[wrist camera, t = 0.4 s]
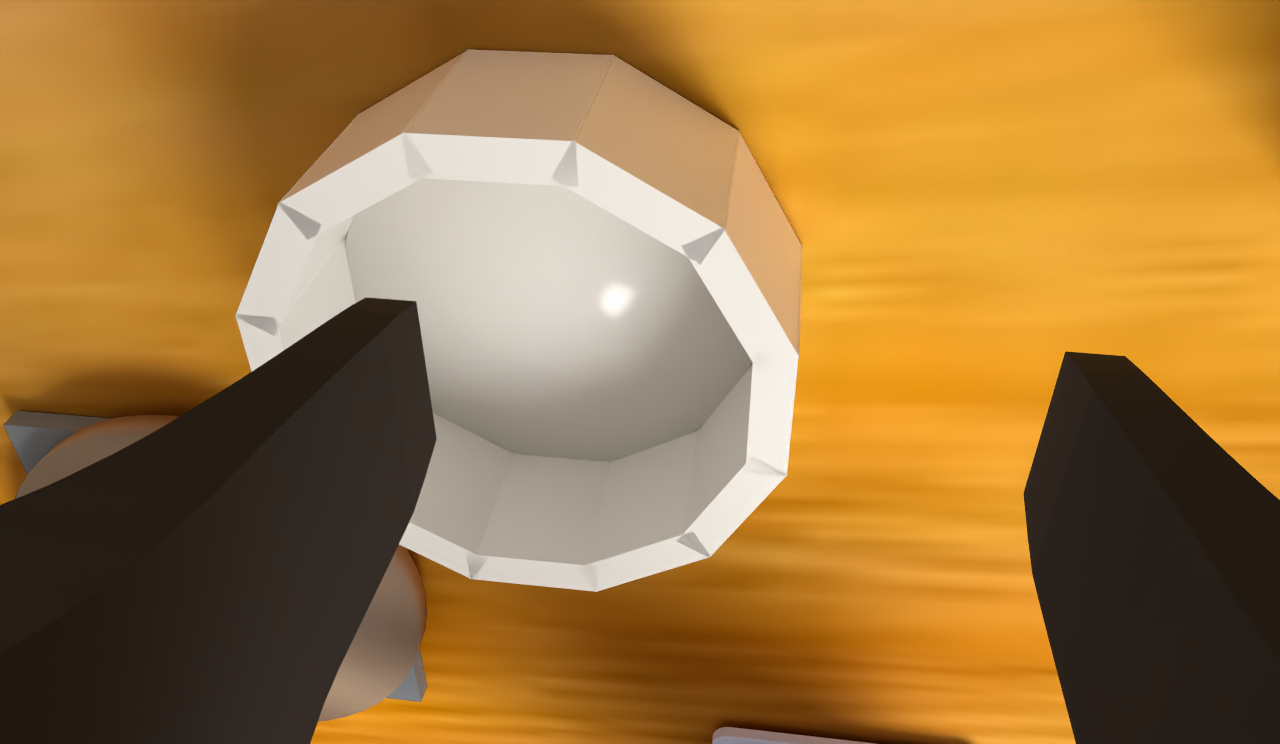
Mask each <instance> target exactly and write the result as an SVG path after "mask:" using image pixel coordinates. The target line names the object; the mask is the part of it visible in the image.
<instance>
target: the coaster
mask: <svg viewBox="0 0 1280 744" xmlns="http://www.w3.org/2000/svg"><path fill="white" fill-rule="evenodd" d="M109 419H110V418H98V417H87V416H75V415H63V414H51V413H40V412H28V411H16V412H15V413H14V414H13V415H12V416H11V417H10V418H9V419H8V421H7V422H6V423H5V424H4V427H5V429H6V431H7V433H8V435H9V438H10V440H11V442H12V444H13V446H14V448H15V450H16V452H17V454H18V456H19V458H20V461H21V463H22V465H23V467H24V469H25V471H26V473H27V475H28V474H29V472H30V471H31V470H32V469H33V468H34V467H35V466H36V465H37V464H38V462H39V461H40V460H41V459H42V458H43V457H44V456H45V455H46V454H47V453H48V452H49V451H50V450H51V449H52V448H53V447H54V446H55V445H56V444H57V443H58V442H59V441H61V440H62V439H64V438H66V437H67V436H69V435H70V434H72V433H74V432H75V431H77V430H78V429H81V428H84V427H86V426H89V425H91V424H94V423H96V422H100V421H104V420H109ZM426 687H427V683H426V678H425V674H424V669H423V664H422V659H421V654H420V649H418V652H417V654H416V657H415V660H414V662H413V665H412V667H411V669H410V671H409V672H408V674H407V676H406V678H405V679H404V681H403V682H402V683H401V684H400V685H399V686H398V687H397V688H396V690H395V691H394V692H393V693H391V694H390V695H389V696H387V697H386V698H391V699H400V700H408V701H417V702H421V701H422V698H423V696H424V693H425V690H426Z"/></svg>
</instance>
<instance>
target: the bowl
mask: <svg viewBox="0 0 1280 744" xmlns="http://www.w3.org/2000/svg"><path fill="white" fill-rule="evenodd" d="M801 279H802V244H801V243H800V241H799V240H798V238H797V236H796V234H795V232H794V231H793V229H792V227H791V225H790V223H789V221H788V220H787V218H786V216H785V214H784V212H783V210H782V209H781V207H780V205H779V203H778V201H777V200H776V198H775V196H774V194H773V192H772V190H771V189H770V187H769V185H768V183H767V181H766V179H765V178H764V176H763V174H762V172H761V170H760V169H759V167H758V165H757V163H756V161H755V159H754V158H753V156H752V154H751V152H750V150H749V148H748V147H747V145H746V143H745V141H744V139H743V137H742V136H741V134H740V132H739V130H736V129H735V128H733V127H731V126H730V125H728V124H726V123H725V122H723V121H721V120H720V119H718V118H716V117H715V116H713V115H711V114H710V113H708V112H707V111H705V110H703V109H702V108H700V107H698V106H697V105H695V104H693V103H692V102H690V101H688V100H687V99H685V98H683V97H682V96H680V95H678V94H677V93H675V92H674V91H672V90H670V89H669V88H667V87H665V86H664V85H662V84H660V83H659V82H657V81H655V80H654V79H652V78H650V77H649V76H647V75H646V74H644V73H642V72H641V71H639V70H637V69H636V68H634V67H632V66H631V65H629V64H627V63H626V62H624V61H622V60H621V59H619V58H618V57H616V56H615V55H613V54H612V55H599V54H573V53H548V52H522V51H497V50H471V49H467V51H465V52H464V53H462V54H460V55H459V56H457V57H455V58H453V59H452V60H450V61H448V62H447V63H445V64H443V65H441V66H440V67H438V68H436V69H435V70H433V71H431V72H430V73H428V74H426V75H424V76H423V77H421V78H419V79H418V80H416V81H414V82H412V83H411V84H409V85H407V86H406V87H404V88H402V89H400V90H399V91H397V92H395V93H394V94H392V95H390V96H389V97H387V98H385V99H383V100H382V101H380V102H378V103H377V104H375V105H373V106H371V107H370V108H368V109H366V110H365V111H363V112H360V113H359V114H358V115H357V116H356V117H355V119H354V120H353V121H352V122H351V123H350V124H349V125H348V126H347V127H346V128H345V130H344V131H343V132H342V133H341V134H340V135H339V136H338V137H337V138H336V140H335V141H334V142H333V143H332V144H331V145H330V146H329V147H328V148H327V149H326V151H325V152H324V153H323V154H322V155H321V156H320V157H319V158H318V159H317V161H316V162H315V163H314V164H313V165H312V166H311V167H310V168H309V169H308V170H307V172H306V173H305V174H304V175H303V176H302V177H301V178H300V179H299V180H298V182H297V183H296V184H295V185H294V186H293V187H292V188H291V189H290V190H289V191H288V193H287V194H286V195H285V196H284V197H283V198H282V199H281V200H280V201H279V203H278V206H277V209H276V212H275V214H274V217H273V219H272V222H271V225H270V227H269V230H268V232H267V235H266V238H265V240H264V243H263V245H262V248H261V251H260V253H259V256H258V258H257V261H256V264H255V266H254V269H253V271H252V274H251V277H250V279H249V282H248V285H247V287H246V290H245V292H244V295H243V298H242V300H241V303H240V305H239V308H238V311H237V313H236V314H235V315H236V316H235V317H236V319H237V322H238V326H239V329H240V333H241V336H242V340H243V343H244V347H245V350H246V354H247V357H248V361H249V364H250V368H251V371H254V370H255V369H257V368H258V367H260V366H261V365H263V364H264V363H266V362H267V361H269V360H270V359H272V358H273V357H275V356H276V355H278V354H279V353H281V352H282V351H284V350H285V349H287V348H288V347H290V346H291V345H293V344H294V343H296V342H297V341H299V340H300V339H302V338H303V337H304V336H306V335H307V334H309V333H310V332H312V331H313V330H315V329H316V328H318V327H319V326H321V325H322V324H324V323H325V322H327V321H328V320H330V319H331V318H333V317H334V316H336V315H337V314H339V313H340V312H342V311H343V310H345V309H347V308H348V307H350V306H351V305H353V304H355V303H357V302H358V301H360V300H362V299H364V298H365V297H368V298H381V299H394V300H407V301H416V302H417V309H418V316H419V323H420V329H421V336H422V343H423V350H424V356H425V363H426V370H427V377H428V384H429V390H430V397H431V404H432V411H433V417H434V424H435V431H436V438H437V440H436V443H435V447H434V450H433V453H432V457H431V460H430V463H429V467H428V470H427V473H426V477H425V480H424V483H423V486H422V489H421V492H420V495H419V498H418V501H417V504H416V507H415V510H414V513H413V515H412V517H411V519H410V521H409V524H408V526H407V528H406V530H405V532H404V534H403V537H402V539H401V541H400V543H399V545H401V546H403V547H405V548H407V549H410V550H412V551H414V552H416V553H418V554H420V555H422V556H424V557H426V558H428V559H430V560H432V561H435V562H437V563H439V564H441V565H443V566H445V567H447V568H449V569H451V570H453V571H455V572H458V573H460V574H462V575H464V576H466V577H468V578H470V579H472V580H473V579H475V580H485V581H495V582H505V583H515V584H525V585H535V586H545V587H555V588H565V589H575V590H585V591H595V592H598V591H601V590H604V589H607V588H610V587H614V586H617V585H620V584H623V583H627V582H630V581H633V580H637V579H640V578H643V577H646V576H650V575H653V574H656V573H660V572H663V571H666V570H669V569H673V568H676V567H679V566H683V565H686V564H689V563H692V562H696V561H699V560H702V559H705V558H710V557H711V555H712V554H713V553H714V552H715V551H716V550H717V549H718V548H719V547H720V546H721V545H722V544H723V543H724V542H725V541H726V539H727V538H728V537H729V536H730V535H731V534H732V533H733V532H734V531H735V530H736V529H737V528H738V527H739V526H740V525H741V523H742V522H743V521H744V520H745V519H746V518H747V517H748V516H749V515H750V514H751V513H752V512H753V511H754V510H755V509H756V508H757V506H758V505H759V504H760V503H761V502H762V501H763V500H764V499H765V498H766V497H767V496H768V495H769V494H770V493H771V492H772V490H773V489H774V488H775V487H776V486H777V485H778V484H779V483H780V482H781V481H782V480H783V479H784V478H785V477H786V476H787V474H788V457H789V447H790V437H791V427H792V417H793V407H794V397H795V386H796V376H797V366H798V358H799V349H800V314H801Z"/></svg>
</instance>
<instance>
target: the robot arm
mask: <svg viewBox="0 0 1280 744" xmlns="http://www.w3.org/2000/svg"><path fill="white" fill-rule="evenodd" d="M436 440H437V438H436V431H435V424H434V417H433V411H432V404H431V397H430V390H429V384H428V377H427V370H426V363H425V356H424V350H423V343H422V336H421V329H420V323H419V316H418V309H417V302H416V301H407V300H394V299H381V298H368V297H365V298H364V299H362V300H360V301H358V302H357V303H355V304H353V305H351V306H350V307H348V308H347V309H345V310H343V311H342V312H340V313H339V314H337V315H336V316H334V317H333V318H331V319H330V320H328V321H327V322H325V323H324V324H322V325H321V326H319V327H318V328H316V329H315V330H313V331H312V332H310V333H309V334H307V335H306V336H304V337H303V338H302V339H300V340H299V341H297V342H296V343H294V344H293V345H291V346H290V347H288V348H287V349H285V350H284V351H282V352H281V353H279V354H278V355H276V356H275V357H273V358H272V359H270V360H269V361H267V362H266V363H264V364H263V365H261V366H260V367H258V368H257V369H255V370H254V371H252V372H251V373H249V374H248V375H246V376H245V377H243V378H242V379H240V380H239V381H237V382H235V383H234V384H232V385H231V386H229V387H228V388H226V389H224V390H223V391H221V392H219V393H218V394H216V395H214V396H213V397H211V398H209V399H208V400H206V401H204V402H203V403H201V404H199V405H198V406H196V407H194V408H193V409H191V410H189V411H188V412H186V413H184V414H183V415H181V416H180V417H178V418H176V419H175V420H173V421H171V422H170V423H168V424H166V425H165V426H163V427H161V428H160V429H158V430H156V431H154V432H153V433H151V434H149V435H147V436H145V437H144V438H142V439H140V440H138V441H136V442H134V443H133V444H131V445H129V446H127V447H125V448H123V449H121V450H119V451H117V452H116V453H114V454H112V455H110V456H108V457H106V458H104V459H102V460H99V461H97V462H95V463H93V464H91V465H89V466H87V467H85V468H83V469H81V470H79V471H77V472H75V473H73V474H71V475H69V476H67V477H65V478H63V479H61V480H58V481H56V482H54V483H52V484H50V485H48V486H45V487H43V488H40V489H38V490H36V491H33V492H31V493H28V494H26V495H24V496H21V497H19V498H16V499H14V500H12V501H9V502H7V503H5V504H2V505H0V744H310V742H311V739H312V736H313V734H314V731H315V728H316V725H317V722H318V720H319V717H320V714H321V711H322V708H323V706H324V703H325V700H326V698H327V696H328V693H329V691H330V689H331V686H332V684H333V682H334V679H335V677H336V675H337V672H338V670H339V668H340V666H341V664H342V661H343V659H344V657H345V655H346V653H347V651H348V649H349V647H350V645H351V643H352V641H353V639H354V637H355V635H356V632H357V630H358V628H359V626H360V624H361V622H362V620H363V618H364V616H365V614H366V612H367V610H368V608H369V606H370V603H371V601H372V599H373V597H374V595H375V593H376V591H377V589H378V587H379V585H380V583H381V581H382V579H383V577H384V575H385V572H386V570H387V568H388V566H389V564H390V562H391V560H392V558H393V556H394V554H395V551H396V549H397V547H398V545H399V543H400V541H401V539H402V537H403V534H404V532H405V530H406V528H407V526H408V524H409V521H410V519H411V517H412V515H413V513H414V510H415V507H416V504H417V501H418V498H419V495H420V492H421V489H422V486H423V483H424V480H425V477H426V473H427V470H428V467H429V463H430V460H431V457H432V453H433V450H434V447H435V443H436ZM1024 502H1025V512H1026V522H1027V533H1028V542H1029V550H1030V558H1031V566H1032V574H1033V578H1034V582H1035V586H1036V590H1037V595H1038V599H1039V603H1040V606H1041V610H1042V614H1043V618H1044V622H1045V626H1046V630H1047V634H1048V638H1049V642H1050V646H1051V649H1052V653H1053V657H1054V661H1055V665H1056V669H1057V672H1058V676H1059V680H1060V684H1061V688H1062V691H1063V695H1064V699H1065V703H1066V707H1067V711H1068V714H1069V718H1070V722H1071V726H1072V730H1073V733H1074V737H1075V741H1076V744H1280V500H1279V499H1278V498H1276V497H1275V496H1274V495H1273V494H1272V493H1271V492H1270V491H1268V490H1267V489H1266V488H1265V487H1264V486H1263V485H1262V484H1260V483H1259V482H1258V481H1257V480H1256V479H1255V478H1254V477H1253V476H1252V475H1251V474H1249V473H1248V472H1247V471H1246V470H1245V469H1244V468H1243V467H1242V466H1241V465H1240V464H1239V463H1237V462H1236V461H1235V460H1234V459H1233V458H1232V457H1231V456H1230V455H1229V454H1228V453H1227V452H1226V451H1225V450H1223V449H1222V448H1221V447H1220V446H1219V445H1218V444H1217V443H1216V442H1215V441H1214V440H1213V439H1212V438H1211V437H1210V436H1209V435H1208V434H1207V433H1206V432H1205V431H1203V430H1202V429H1201V428H1200V427H1199V426H1198V425H1197V424H1196V423H1195V422H1194V421H1193V420H1192V419H1191V418H1190V417H1189V416H1188V415H1187V414H1186V413H1185V412H1184V411H1183V410H1182V409H1181V408H1180V407H1179V406H1178V405H1177V404H1176V403H1175V402H1173V401H1172V400H1171V399H1170V398H1169V397H1168V396H1167V395H1166V394H1165V393H1164V392H1163V391H1162V390H1161V389H1160V388H1159V387H1158V386H1157V385H1156V384H1155V383H1154V382H1153V381H1152V380H1151V379H1150V378H1149V377H1148V376H1146V375H1145V374H1144V373H1143V372H1142V371H1141V370H1140V369H1139V368H1138V367H1137V366H1136V365H1134V364H1133V363H1132V362H1131V361H1130V360H1129V359H1128V358H1126V357H1125V356H1115V355H1102V354H1089V353H1076V352H1065V355H1064V358H1063V362H1062V365H1061V368H1060V372H1059V375H1058V379H1057V382H1056V385H1055V389H1054V392H1053V396H1052V399H1051V402H1050V406H1049V409H1048V413H1047V416H1046V419H1045V423H1044V426H1043V430H1042V433H1041V436H1040V440H1039V443H1038V447H1037V450H1036V453H1035V457H1034V460H1033V464H1032V467H1031V470H1030V474H1029V477H1028V480H1027V484H1026V487H1025V491H1024ZM712 744H876V743H867V742H858V741H849V740H840V739H832V738H823V737H814V736H805V735H797V734H788V733H779V732H770V731H761V730H753V729H744V728H735V727H722V728H719V729H717V730H716V731H715V732H714V734H713V738H712Z"/></svg>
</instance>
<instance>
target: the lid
mask: <svg viewBox="0 0 1280 744" xmlns="http://www.w3.org/2000/svg"><path fill="white" fill-rule="evenodd" d="M178 417H180V416H174V415H135V416H124V417H118V418H113V419H109V420H104V421H100V422H96V423H94V424H91V425H89V426H86V427H84V428H81V429H78V430H77V431H75V432H74V433H72V434H70V435H69V436H67V437H66V438H64V439H62V440H61V441H59V442H58V443H57V444H56V445H55V446H54V447H53V448H52V449H51V450H50V451H49V452H48V453H47V454H46V455H45V456H44V457H43V458H42V459H41V460H40V461H39V462H38V464H37V465H36V466H35V467H34V468H33V469H32V470H31V471H30V472H29V474H28V475H27V477H26V478H25V480H24V481H23V483H22V484H21V486H20V487H19V490H18V492H17V495H16V498H19V497H21V496H24V495H26V494H28V493H31V492H33V491H36V490H38V489H40V488H43V487H45V486H48V485H50V484H52V483H54V482H56V481H58V480H61V479H63V478H65V477H67V476H69V475H71V474H73V473H75V472H77V471H79V470H81V469H83V468H85V467H87V466H89V465H91V464H93V463H95V462H97V461H99V460H102V459H104V458H106V457H108V456H110V455H112V454H114V453H116V452H117V451H119V450H121V449H123V448H125V447H127V446H129V445H131V444H133V443H134V442H136V441H138V440H140V439H142V438H144V437H145V436H147V435H149V434H151V433H153V432H154V431H156V430H158V429H160V428H161V427H163V426H165V425H166V424H168V423H170V422H171V421H173V420H175V419H176V418H178ZM16 498H15V499H16ZM426 617H427V608H426V598H425V592H424V588H423V585H422V581H421V578H420V575H419V572H418V570H417V568H416V566H415V564H414V562H413V559H412V557H411V555H410V554H409V552H408V550H407V549H406V548H405V547H403V546H401V545H398V547H397V549H396V551H395V554H394V556H393V558H392V560H391V562H390V564H389V566H388V568H387V570H386V572H385V575H384V577H383V579H382V581H381V583H380V585H379V587H378V589H377V591H376V593H375V595H374V597H373V599H372V601H371V603H370V606H369V608H368V610H367V612H366V614H365V616H364V618H363V620H362V622H361V624H360V626H359V628H358V630H357V632H356V635H355V637H354V639H353V641H352V643H351V645H350V647H349V649H348V651H347V653H346V655H345V657H344V659H343V661H342V664H341V666H340V668H339V670H338V672H337V675H336V677H335V679H334V682H333V684H332V686H331V689H330V691H329V693H328V696H327V698H326V700H325V703H324V706H323V708H322V711H321V714H320V717H319V720H318V721H328V720H332V719H337V718H342V717H346V716H349V715H352V714H355V713H358V712H361V711H364V710H366V709H368V708H370V707H372V706H373V705H375V704H377V703H379V702H381V701H382V700H383V699H385V698H386V697H387V696H389V695H390V694H391V693H393V692H394V691H395V690H396V688H397V687H398V686H399V685H400V684H401V683H402V682H403V681H404V679H405V678H406V676H407V674H408V672H409V671H410V669H411V667H412V665H413V662H414V660H415V657H416V654H417V652H418V649H419V647H420V644H421V641H422V638H423V635H424V631H425V627H426Z"/></svg>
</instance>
